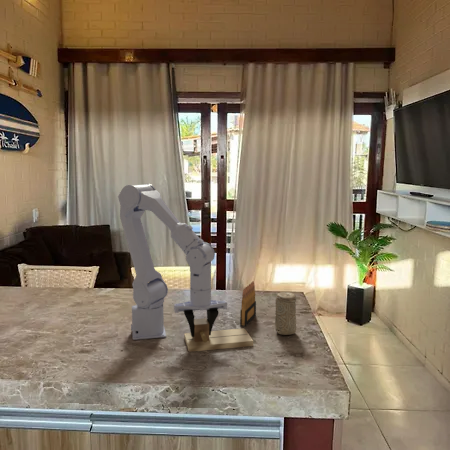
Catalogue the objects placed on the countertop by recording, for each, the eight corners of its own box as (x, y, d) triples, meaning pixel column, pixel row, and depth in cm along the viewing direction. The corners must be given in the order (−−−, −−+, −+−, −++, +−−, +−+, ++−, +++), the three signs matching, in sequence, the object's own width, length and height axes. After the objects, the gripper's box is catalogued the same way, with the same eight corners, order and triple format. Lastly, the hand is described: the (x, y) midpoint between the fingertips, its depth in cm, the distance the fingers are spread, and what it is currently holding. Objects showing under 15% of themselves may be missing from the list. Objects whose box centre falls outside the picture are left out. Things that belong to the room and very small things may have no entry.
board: (188, 351, 113) (188, 346, 113) (184, 338, 122) (184, 333, 122) (253, 345, 117) (253, 340, 117) (244, 333, 126) (244, 328, 126)
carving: (291, 327, 130) (292, 290, 129) (299, 337, 123) (301, 298, 121) (271, 328, 130) (272, 291, 128) (278, 338, 122) (279, 298, 120)
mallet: (197, 350, 111) (197, 332, 110) (192, 335, 120) (192, 319, 119) (212, 349, 112) (212, 331, 111) (206, 334, 121) (206, 318, 120)
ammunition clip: (245, 327, 131) (246, 289, 129) (239, 326, 131) (240, 288, 130) (255, 315, 141) (256, 280, 139) (250, 314, 141) (251, 279, 140)
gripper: (175, 293, 111) (176, 342, 113) (229, 290, 114) (229, 338, 116) (173, 286, 117) (173, 332, 119) (223, 283, 121) (223, 328, 123)
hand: (200, 334), depth 118 cm, fingers closed on mallet, 4 cm apart
